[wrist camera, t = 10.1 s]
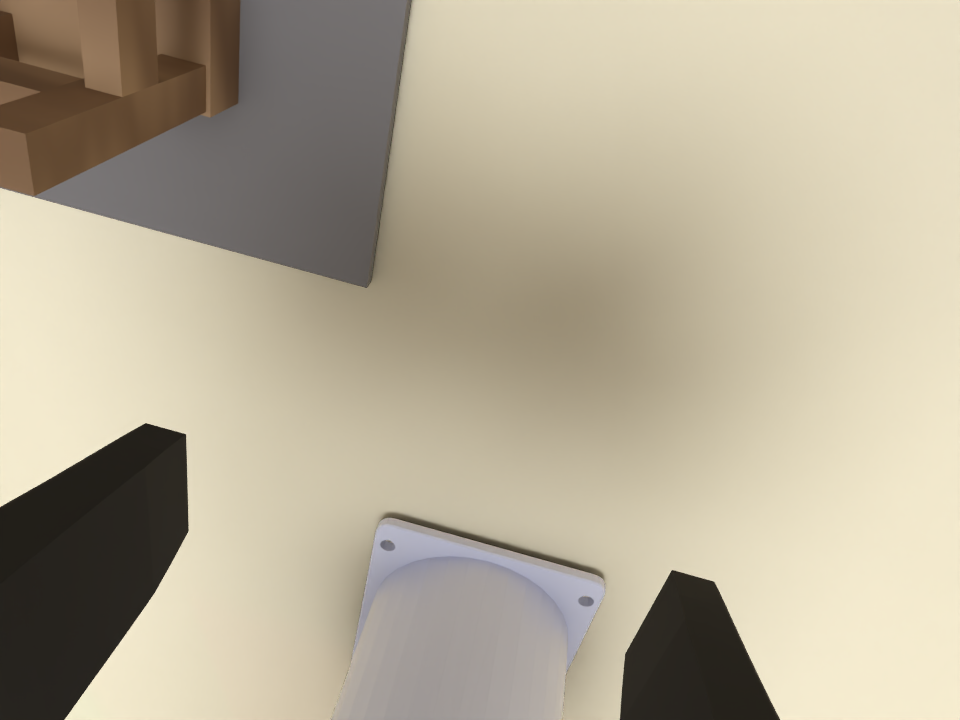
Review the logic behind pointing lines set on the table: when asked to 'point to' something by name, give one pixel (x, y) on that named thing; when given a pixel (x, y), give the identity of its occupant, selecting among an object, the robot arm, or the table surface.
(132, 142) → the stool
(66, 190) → the mat
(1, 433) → the table surface
